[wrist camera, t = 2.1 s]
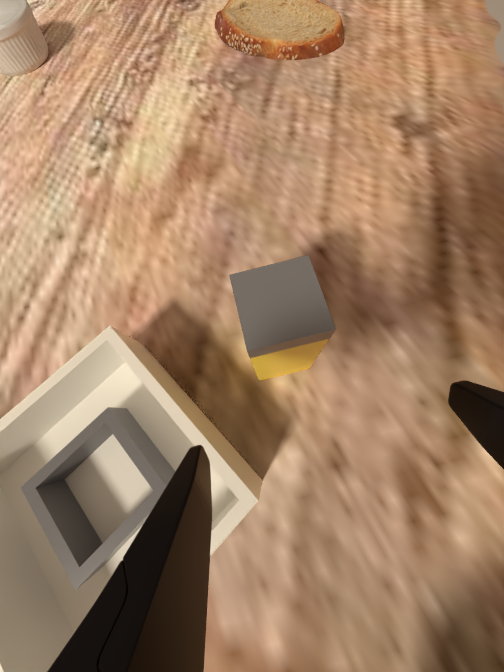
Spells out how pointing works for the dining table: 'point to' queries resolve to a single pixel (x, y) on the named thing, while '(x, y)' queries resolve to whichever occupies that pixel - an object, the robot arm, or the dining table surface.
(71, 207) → the dining table surface
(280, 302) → the plug
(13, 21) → the ramekin
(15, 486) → the socket box
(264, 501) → the dining table surface
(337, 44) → the bread slice
